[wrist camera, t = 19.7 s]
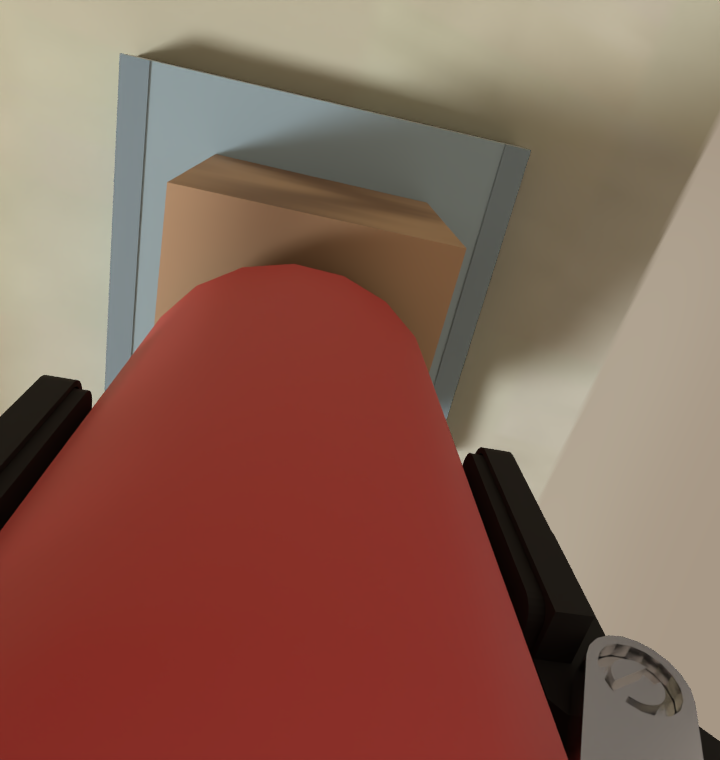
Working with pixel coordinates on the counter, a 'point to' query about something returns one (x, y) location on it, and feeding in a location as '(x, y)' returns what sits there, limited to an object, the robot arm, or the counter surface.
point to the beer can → (263, 553)
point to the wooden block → (308, 238)
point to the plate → (301, 155)
